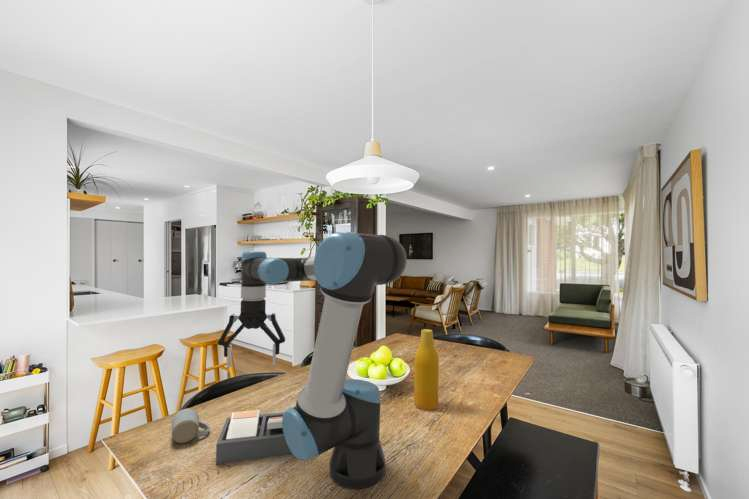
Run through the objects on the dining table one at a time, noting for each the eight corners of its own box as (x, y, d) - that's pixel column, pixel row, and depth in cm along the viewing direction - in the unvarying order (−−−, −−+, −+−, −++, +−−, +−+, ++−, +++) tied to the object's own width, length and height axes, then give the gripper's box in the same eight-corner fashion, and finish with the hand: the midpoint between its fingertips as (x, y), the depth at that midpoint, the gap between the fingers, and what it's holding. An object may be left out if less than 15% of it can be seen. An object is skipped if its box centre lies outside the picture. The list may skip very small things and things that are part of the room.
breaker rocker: (257, 440, 97) (257, 435, 96) (224, 443, 94) (224, 438, 94) (260, 414, 106) (260, 409, 105) (231, 416, 104) (231, 412, 103)
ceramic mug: (170, 448, 98) (172, 421, 98) (171, 435, 105) (172, 410, 106) (210, 439, 104) (211, 414, 104) (208, 427, 111) (209, 403, 111)
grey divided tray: (301, 453, 97) (302, 424, 97) (216, 464, 91) (216, 433, 91) (300, 427, 111) (301, 402, 111) (226, 435, 106) (227, 408, 106)
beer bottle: (442, 405, 129) (443, 330, 129) (429, 413, 122) (430, 334, 122) (423, 398, 135) (423, 326, 136) (409, 405, 128) (410, 330, 129)
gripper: (293, 297, 113) (292, 359, 113) (214, 298, 108) (213, 363, 107) (292, 300, 106) (291, 367, 105) (208, 301, 100) (206, 371, 100)
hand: (252, 365), depth 106 cm, fingers open, 13 cm apart
